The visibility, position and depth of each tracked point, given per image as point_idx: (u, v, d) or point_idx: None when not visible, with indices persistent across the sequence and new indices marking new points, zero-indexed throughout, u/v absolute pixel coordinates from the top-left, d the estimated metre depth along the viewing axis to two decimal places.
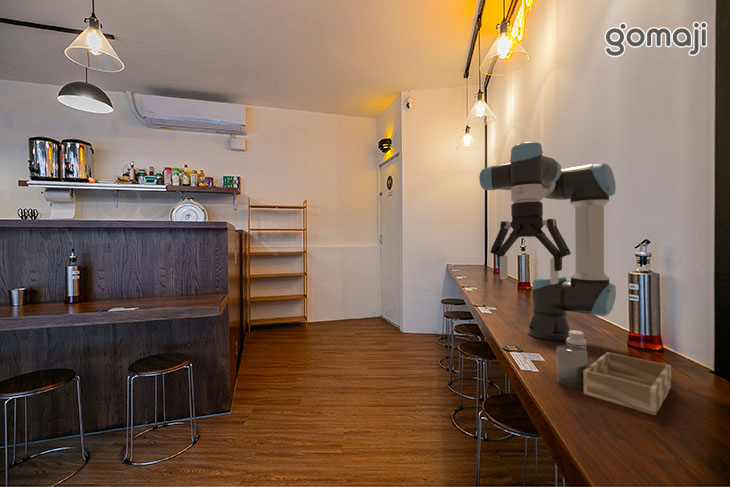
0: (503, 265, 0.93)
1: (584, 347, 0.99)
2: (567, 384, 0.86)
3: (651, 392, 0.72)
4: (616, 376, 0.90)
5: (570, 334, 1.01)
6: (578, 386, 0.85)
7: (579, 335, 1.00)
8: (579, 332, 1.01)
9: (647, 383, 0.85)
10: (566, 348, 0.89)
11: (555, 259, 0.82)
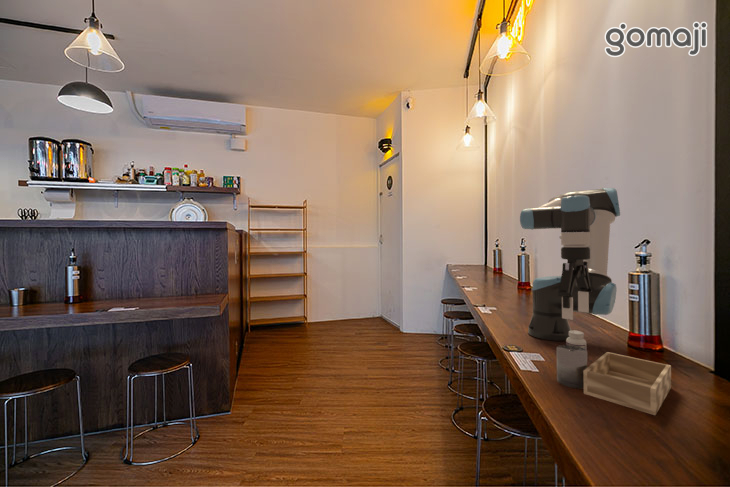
0: (580, 299, 1.06)
1: (584, 347, 0.99)
2: (567, 384, 0.86)
3: (651, 392, 0.72)
4: (616, 376, 0.90)
5: (570, 334, 1.01)
6: (578, 386, 0.85)
7: (579, 335, 1.00)
8: (579, 332, 1.01)
9: (647, 383, 0.85)
10: (566, 348, 0.89)
11: None
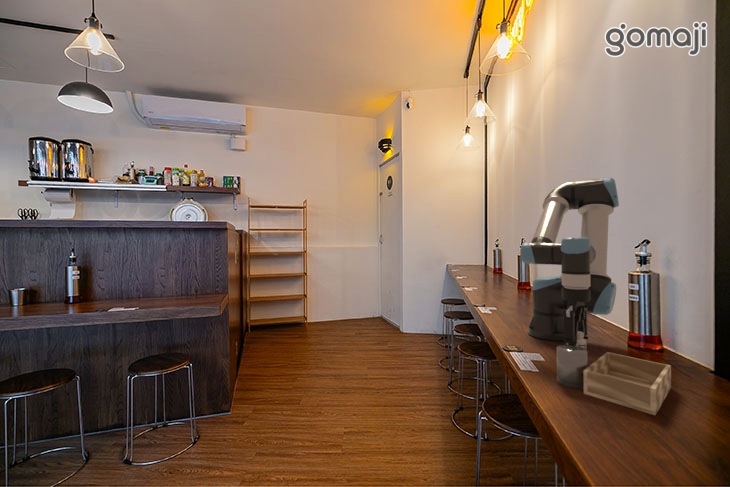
0: None
1: (584, 347, 0.99)
2: (567, 384, 0.86)
3: (651, 392, 0.72)
4: (616, 376, 0.90)
5: None
6: (578, 386, 0.85)
7: (579, 335, 1.00)
8: (579, 332, 1.01)
9: (647, 383, 0.85)
10: (566, 348, 0.89)
11: None
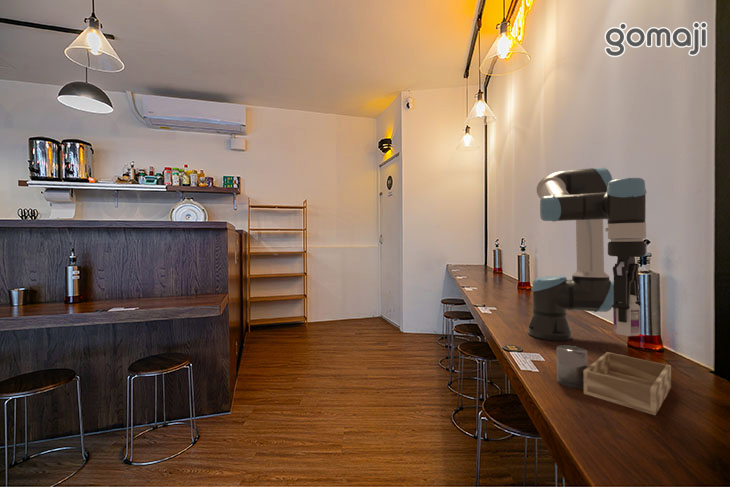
0: None
1: (638, 313, 0.80)
2: (567, 384, 0.86)
3: (651, 392, 0.72)
4: (616, 376, 0.90)
5: None
6: (578, 386, 0.85)
7: (632, 298, 0.81)
8: (630, 295, 0.82)
9: (647, 383, 0.85)
10: (566, 348, 0.89)
11: None
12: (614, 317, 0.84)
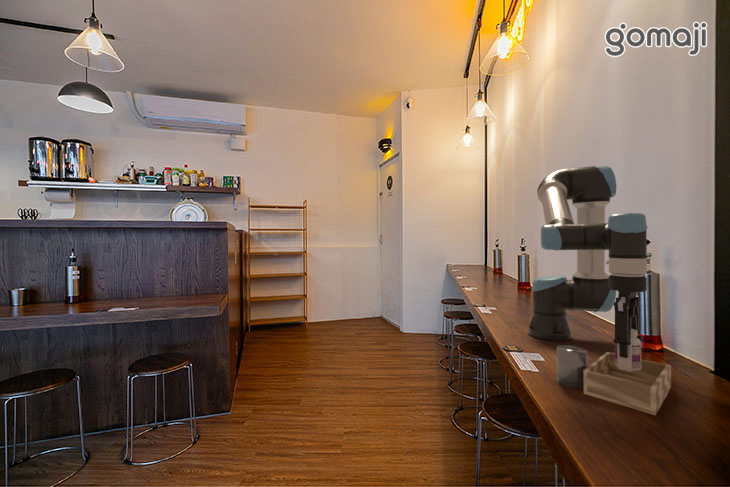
0: None
1: (639, 348, 0.80)
2: (567, 384, 0.86)
3: (651, 392, 0.72)
4: (616, 376, 0.90)
5: None
6: (578, 386, 0.85)
7: (633, 333, 0.81)
8: (631, 330, 0.82)
9: (647, 383, 0.85)
10: (566, 348, 0.89)
11: None
12: (615, 351, 0.84)
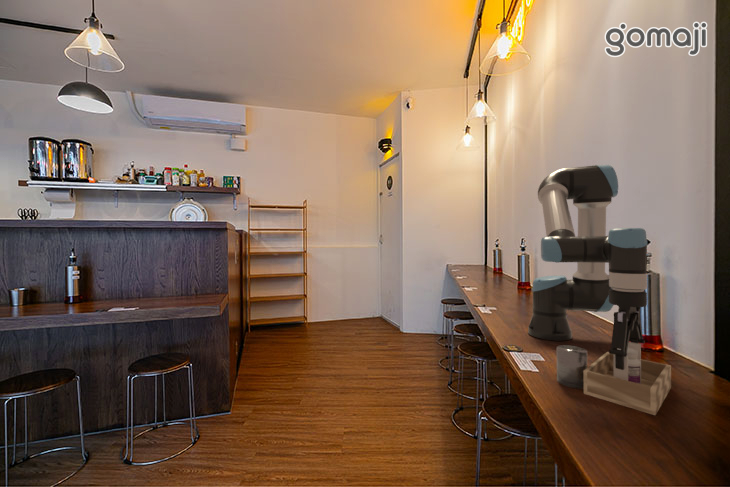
0: None
1: (639, 369, 0.81)
2: (567, 384, 0.86)
3: (651, 392, 0.72)
4: None
5: None
6: (578, 386, 0.85)
7: (633, 354, 0.81)
8: (631, 350, 0.82)
9: (647, 383, 0.85)
10: (566, 348, 0.89)
11: None
12: None
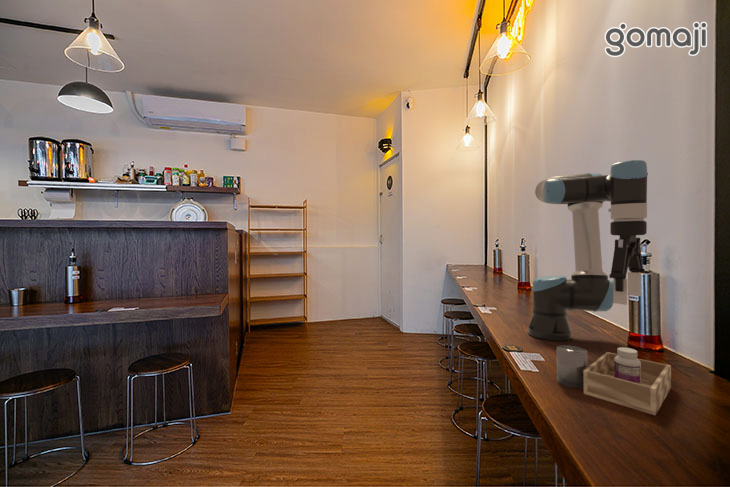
0: (631, 282, 0.93)
1: (639, 369, 0.81)
2: (567, 384, 0.86)
3: (651, 392, 0.72)
4: None
5: (620, 352, 0.83)
6: (578, 386, 0.85)
7: (633, 354, 0.81)
8: (631, 350, 0.82)
9: (647, 383, 0.85)
10: (566, 348, 0.89)
11: None
12: (615, 371, 0.84)
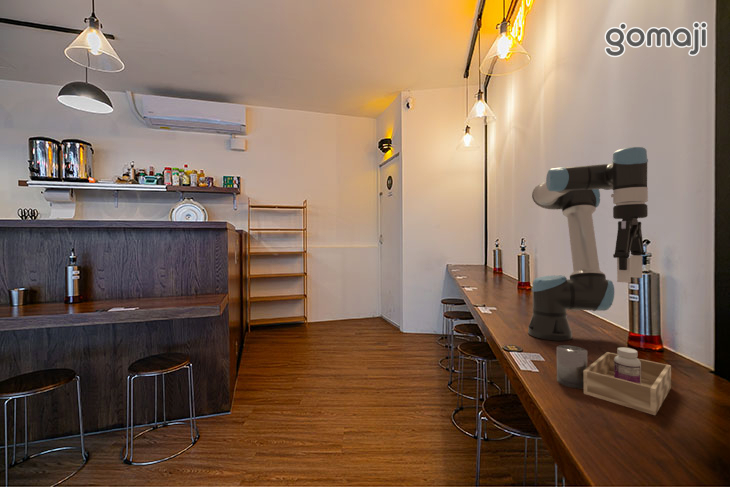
0: (633, 264, 0.97)
1: (639, 369, 0.81)
2: (567, 384, 0.86)
3: (651, 392, 0.72)
4: None
5: (620, 352, 0.83)
6: (578, 386, 0.85)
7: (633, 354, 0.81)
8: (631, 350, 0.82)
9: (647, 383, 0.85)
10: (566, 348, 0.89)
11: None
12: (615, 371, 0.84)
